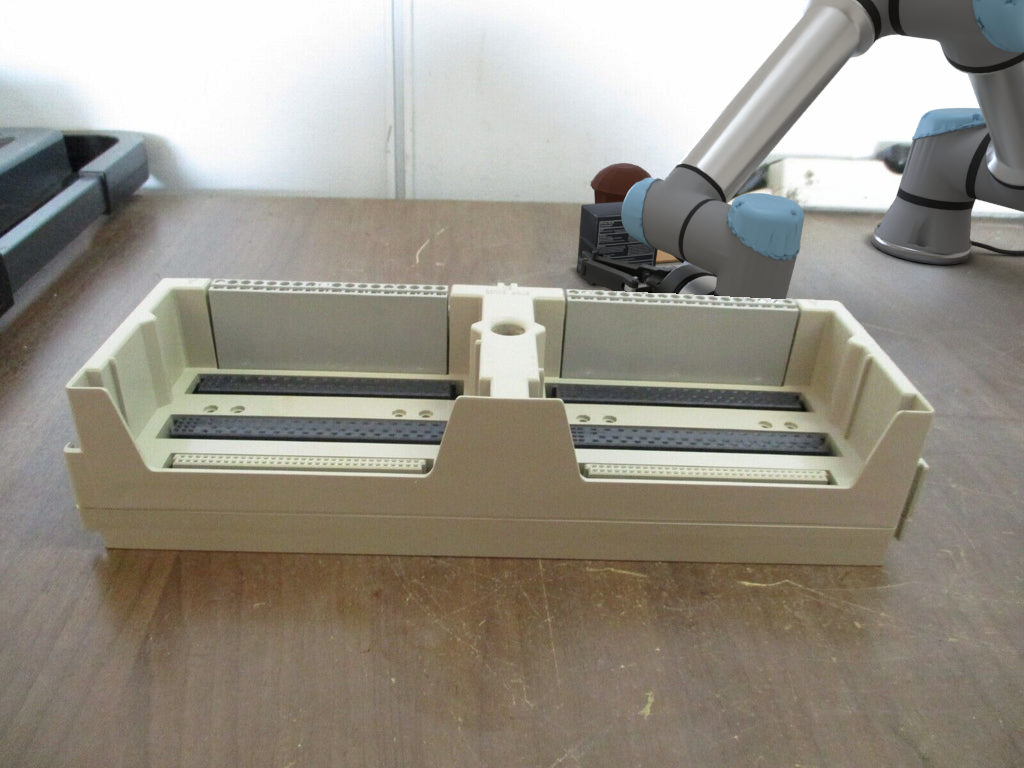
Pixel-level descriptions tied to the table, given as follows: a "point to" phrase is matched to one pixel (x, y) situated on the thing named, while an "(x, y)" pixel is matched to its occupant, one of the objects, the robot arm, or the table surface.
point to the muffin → (616, 182)
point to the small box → (612, 236)
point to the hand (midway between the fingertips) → (625, 243)
